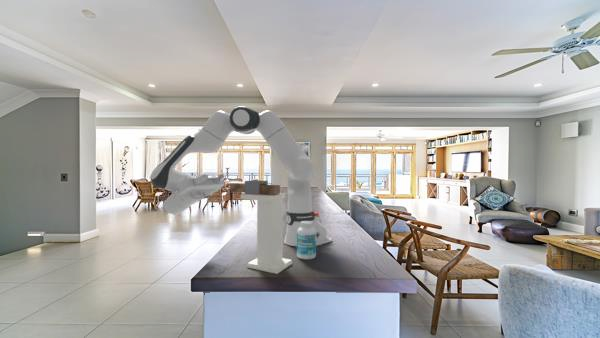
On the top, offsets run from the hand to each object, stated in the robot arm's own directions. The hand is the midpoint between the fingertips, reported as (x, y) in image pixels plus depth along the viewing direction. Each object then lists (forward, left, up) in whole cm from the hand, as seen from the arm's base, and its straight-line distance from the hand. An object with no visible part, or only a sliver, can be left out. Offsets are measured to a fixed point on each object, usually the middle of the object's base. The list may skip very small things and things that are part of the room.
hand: (214, 175), depth 107 cm
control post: (-13, +21, -31) cm, 40 cm away
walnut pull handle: (-10, +17, -6) cm, 20 cm away
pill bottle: (-29, +21, -31) cm, 48 cm away
